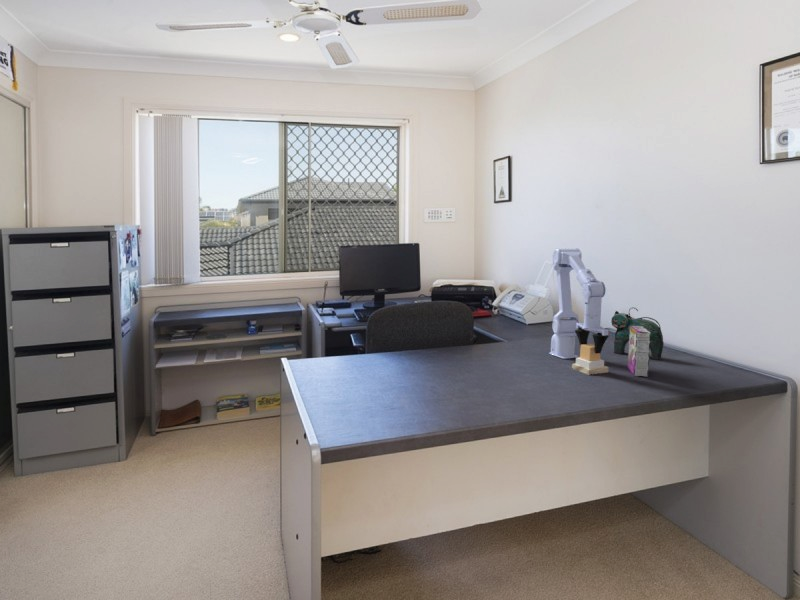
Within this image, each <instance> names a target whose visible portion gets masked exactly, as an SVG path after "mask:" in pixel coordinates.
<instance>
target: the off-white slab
mask: <svg viewBox="0 0 800 600" xmlns="http://www.w3.org/2000/svg"><path fill="white" fill-rule="evenodd" d="M575 363H576V365H579V366H582V367H585V368H587V369H593V368H600V367H604V366H605V360H604V359H601V358H600V360H594V361H588V360H585V359H582V358H580V356H579V357H576V358H575Z"/></svg>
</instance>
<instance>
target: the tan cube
mask: <svg viewBox="0 0 800 600" xmlns="http://www.w3.org/2000/svg"><path fill="white" fill-rule="evenodd" d="M579 349H580V350H579V352H580V353H579V357H580V358H582V359H585V360H588V361H594V360H600V359H601V353H598V354H596V353H595V343H587V344H582V345H581V348H579Z"/></svg>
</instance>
